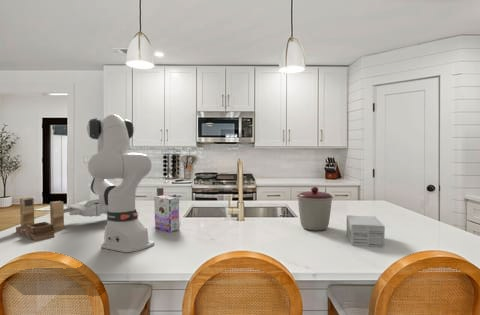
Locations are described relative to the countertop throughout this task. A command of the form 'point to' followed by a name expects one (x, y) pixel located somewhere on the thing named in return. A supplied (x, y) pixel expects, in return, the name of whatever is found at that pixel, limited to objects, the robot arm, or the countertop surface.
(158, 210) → the candy box
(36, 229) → the wooden block stack
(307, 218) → the canister
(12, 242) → the countertop surface
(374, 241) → the supplement box
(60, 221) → the light wood tall block
